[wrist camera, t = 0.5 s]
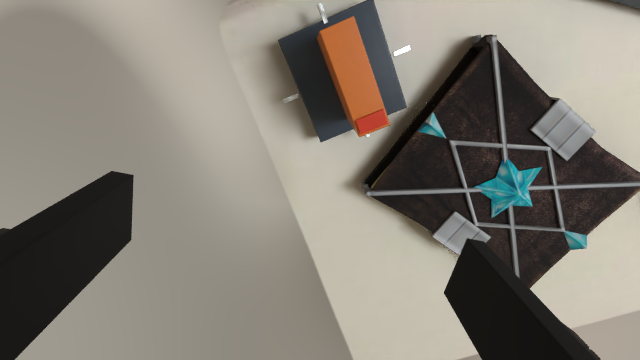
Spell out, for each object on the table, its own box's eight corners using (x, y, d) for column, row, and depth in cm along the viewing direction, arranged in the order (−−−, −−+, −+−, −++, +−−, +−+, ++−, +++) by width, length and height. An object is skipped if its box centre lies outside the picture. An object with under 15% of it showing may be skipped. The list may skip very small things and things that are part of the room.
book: (623, 169, 34) (674, 187, 29) (503, 283, 38) (530, 314, 34) (474, 33, 29) (506, 28, 24) (355, 181, 33) (363, 201, 29)
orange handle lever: (316, 37, 26) (319, 30, 20) (342, 26, 26) (354, 15, 19) (347, 119, 29) (359, 138, 22) (371, 109, 29) (391, 125, 22)
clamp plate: (257, 36, 29) (253, 34, 26) (381, -20, 27) (388, -28, 25) (308, 152, 32) (308, 160, 30) (419, 107, 31) (429, 112, 29)
